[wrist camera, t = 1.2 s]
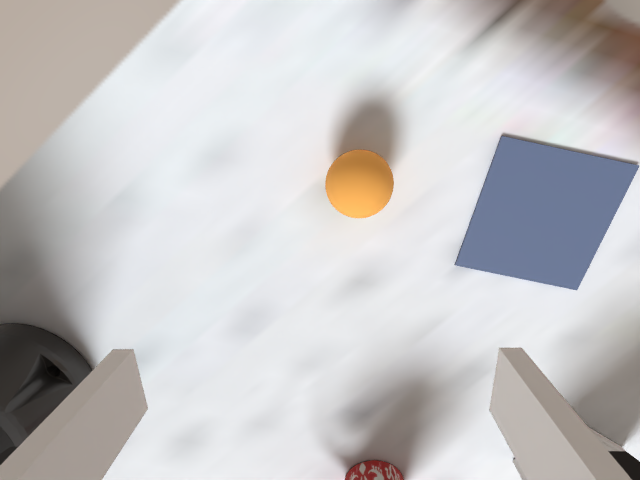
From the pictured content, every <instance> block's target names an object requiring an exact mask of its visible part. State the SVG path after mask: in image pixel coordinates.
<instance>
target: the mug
mask: <svg viewBox="0 0 640 480" xmlns="http://www.w3.org/2000/svg"><path fill="white" fill-rule="evenodd" d="M345 480H404V479H403V476H402V474H401V472H400V471H399V470H398V469H397V468H396V467H395V466H393V465H392V464H390V463H387V462H383V461H377V460H372V461H366V462H362V463H359V464H357V465H355V466H354V467H353V468H351V469H350V470H349V472H348V473H347V475H346V478H345Z"/></svg>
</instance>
